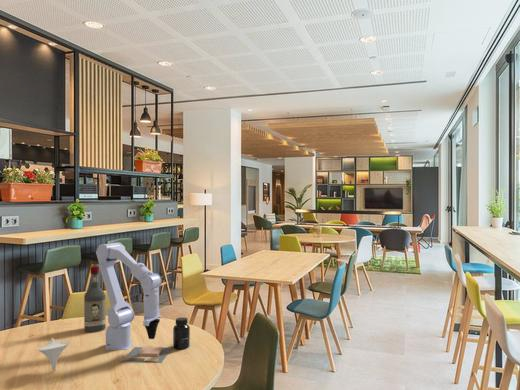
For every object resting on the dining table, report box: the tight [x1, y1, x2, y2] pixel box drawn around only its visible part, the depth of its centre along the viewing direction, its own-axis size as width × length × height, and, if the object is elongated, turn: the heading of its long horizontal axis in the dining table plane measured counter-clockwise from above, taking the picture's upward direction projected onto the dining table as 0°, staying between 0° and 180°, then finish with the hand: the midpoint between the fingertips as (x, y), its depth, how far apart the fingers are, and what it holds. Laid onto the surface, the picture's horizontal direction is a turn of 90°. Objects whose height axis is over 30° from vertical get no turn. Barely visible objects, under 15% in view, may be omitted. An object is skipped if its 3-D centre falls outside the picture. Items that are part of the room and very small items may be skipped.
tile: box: [138, 346, 163, 357], centre depth 163 cm, size 8×2×7 cm
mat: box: [119, 346, 174, 364], centre depth 162 cm, size 16×16×1 cm
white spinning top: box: [36, 337, 71, 373], centre depth 147 cm, size 10×11×12 cm
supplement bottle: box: [172, 317, 191, 351], centre depth 170 cm, size 7×7×12 cm
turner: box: [120, 355, 160, 362], centre depth 156 cm, size 14×4×1 cm, turn 87°
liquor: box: [83, 265, 107, 333], centre depth 196 cm, size 9×9×30 cm
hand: (151, 338), depth 164 cm, fingers closed
